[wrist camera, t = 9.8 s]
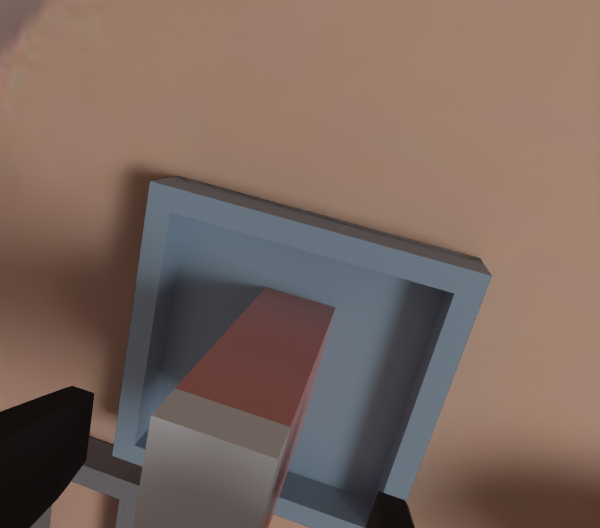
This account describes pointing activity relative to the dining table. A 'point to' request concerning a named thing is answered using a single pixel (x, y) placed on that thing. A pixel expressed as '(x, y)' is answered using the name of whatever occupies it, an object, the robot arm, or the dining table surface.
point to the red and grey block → (235, 420)
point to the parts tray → (339, 346)
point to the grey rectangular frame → (107, 482)
